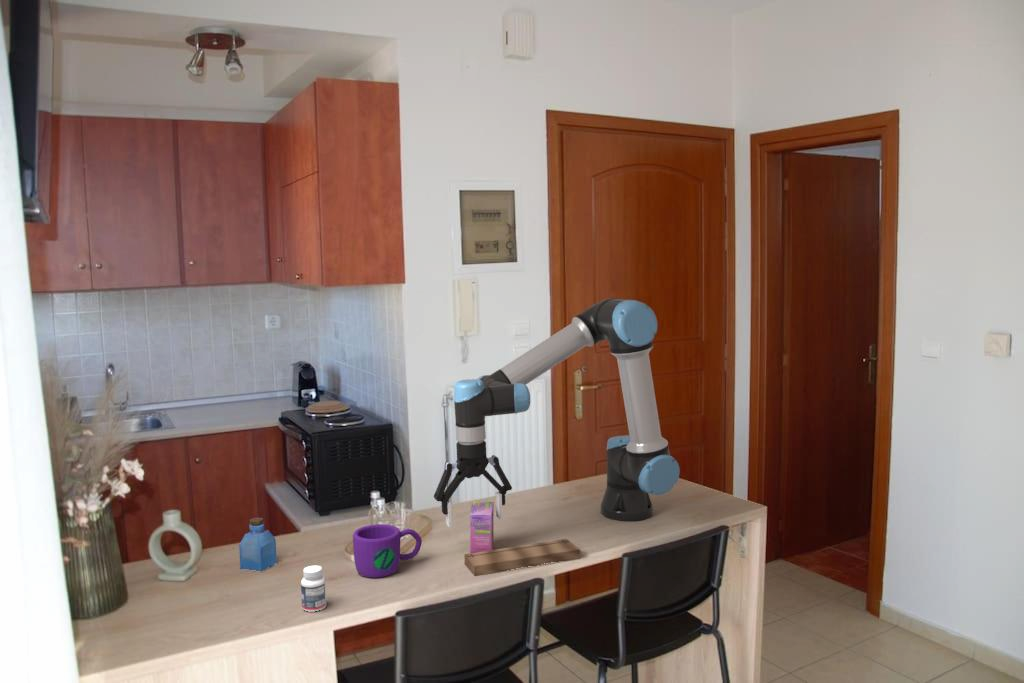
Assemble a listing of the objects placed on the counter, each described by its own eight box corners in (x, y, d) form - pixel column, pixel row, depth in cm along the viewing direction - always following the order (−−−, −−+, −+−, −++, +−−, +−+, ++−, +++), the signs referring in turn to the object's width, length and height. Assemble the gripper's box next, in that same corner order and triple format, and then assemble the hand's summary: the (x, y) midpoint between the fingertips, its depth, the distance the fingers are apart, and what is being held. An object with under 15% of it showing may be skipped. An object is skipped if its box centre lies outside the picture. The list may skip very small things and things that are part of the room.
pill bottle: (304, 602, 178) (302, 564, 177) (327, 601, 178) (326, 563, 177) (300, 613, 173) (298, 574, 172) (324, 612, 173) (322, 573, 172)
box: (492, 559, 201) (491, 514, 200) (469, 559, 202) (469, 514, 200) (494, 544, 212) (493, 501, 210) (472, 544, 212) (472, 501, 210)
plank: (566, 547, 209) (566, 538, 208) (580, 558, 201) (580, 548, 201) (464, 563, 199) (464, 553, 198) (474, 576, 191) (474, 565, 191)
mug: (362, 584, 187) (361, 543, 186) (348, 567, 197) (346, 528, 196) (431, 569, 196) (430, 529, 195) (413, 554, 206) (412, 516, 204)
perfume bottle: (276, 562, 201) (274, 516, 199) (261, 572, 195) (259, 525, 194) (256, 560, 203) (253, 514, 201) (240, 569, 197) (237, 522, 196)
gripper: (511, 432, 210) (514, 509, 212) (419, 443, 201) (423, 524, 204) (522, 438, 203) (525, 518, 205) (427, 450, 194) (431, 534, 197)
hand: (474, 521), depth 204 cm, fingers open, 13 cm apart
